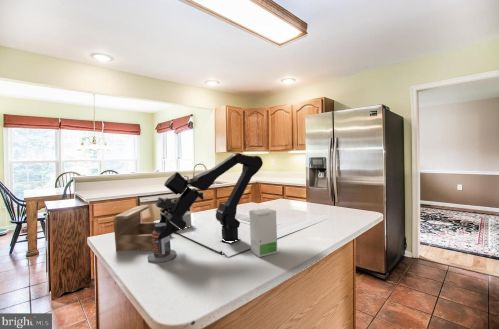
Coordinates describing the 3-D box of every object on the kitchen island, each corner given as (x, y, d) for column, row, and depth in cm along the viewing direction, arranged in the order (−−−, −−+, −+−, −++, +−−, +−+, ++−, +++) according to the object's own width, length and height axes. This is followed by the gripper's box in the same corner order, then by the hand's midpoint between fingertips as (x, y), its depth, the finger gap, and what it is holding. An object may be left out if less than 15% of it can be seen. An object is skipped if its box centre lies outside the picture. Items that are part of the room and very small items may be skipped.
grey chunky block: (193, 227, 128) (192, 210, 127) (166, 232, 121) (165, 214, 121) (187, 222, 137) (186, 207, 136) (162, 227, 130) (161, 210, 130)
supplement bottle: (150, 255, 92) (148, 225, 91) (164, 250, 97) (162, 221, 96) (160, 259, 89) (158, 227, 88) (174, 253, 93) (172, 223, 93)
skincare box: (258, 258, 88) (256, 214, 87) (249, 251, 94) (247, 210, 93) (278, 252, 92) (276, 210, 91) (269, 246, 98) (267, 207, 97)
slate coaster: (181, 255, 93) (181, 253, 93) (157, 265, 86) (156, 263, 86) (166, 249, 100) (166, 247, 100) (142, 258, 92) (142, 256, 92)
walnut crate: (170, 234, 118) (168, 205, 117) (153, 250, 100) (150, 215, 99) (138, 235, 119) (136, 206, 118) (115, 250, 101) (113, 216, 100)
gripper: (163, 186, 101) (135, 218, 97) (174, 192, 85) (141, 230, 80) (184, 202, 106) (158, 234, 101) (198, 211, 90) (168, 249, 85)
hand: (156, 236), depth 92 cm, fingers open, 7 cm apart
